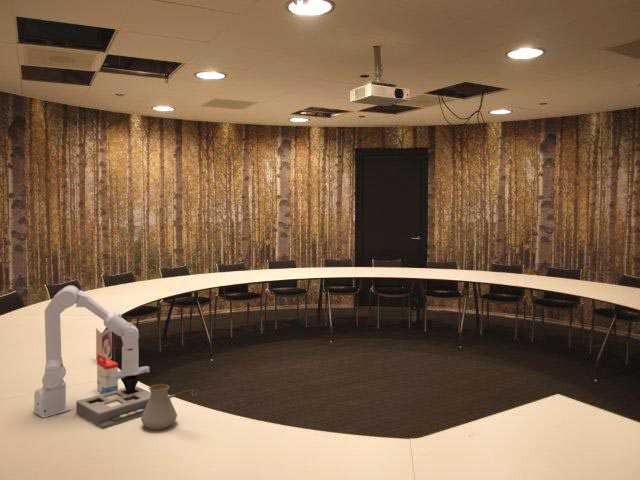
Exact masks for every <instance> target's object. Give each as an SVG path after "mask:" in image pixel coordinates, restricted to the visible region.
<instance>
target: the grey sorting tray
mask: <svg viewBox="0 0 640 480" xmlns="http://www.w3.org/2000/svg"><path fill="white" fill-rule="evenodd" d="M112 395H118V396H122V397H118V398H115V399H111V400H110V399H108V398H106V397H108V396H112ZM132 396H135V397H137V398H139V399H137V400H133V401H130V402H128V401H126V400H124V399H125V398H129V397H132ZM150 396H151V391H149V390H145V389H144V388H142V387H139V386H137V385H136V387H135V391H134V393H132V394H129V395H127V392H126V388H125V387H123V388H120V389H119V388H118V390H116V391H112V392H108V393H104V394H103V393H100V394H98V395H93V396H90V397H86V398H83V399H79V400H76V406H75V407H76V409H75V410H76V411H75V412H76V414H75V415H78V416H80V417H81V418H84V419H85V420H87V421H88V422H90V423H92V424H93V425H95V426H97V427H99V428H100V429H102V430H103V429H107V428H111V427H113V426H116V425H119V424H123V423H125V422H130V421H132V420H134V419H138V418H141V417H142V415H143V412H144V410H145V408H146V405H147V403H148V401H149V398H150ZM115 401H118V402H119V403H121V404H120V405H116V406H113V407H110V406H108V405H106V404H108V403H111V402H115ZM96 402H100V403H97V404H93V405H91V404H92V403H96ZM122 403H123V404H122Z"/></svg>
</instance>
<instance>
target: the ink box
mask: <svg viewBox="0 0 640 480" xmlns="http://www.w3.org/2000/svg"><path fill="white" fill-rule="evenodd" d="M100 358H102V359H103V360H101V359H100ZM96 361H97V362H96V376H97V377H96V378H97V379H96V382H97V383H96V388H97V389H96V390H97V391H98V392H100V394H104V393H108V392H112V391H116V390H119V379H117V380H115V381H111V380H110V375H111V374H115V373H117V372H119V369H118V368H119V367H118V365H119V364H118V362H115V361H113V360H111V359H110V360H109V359H107V358H106V357H104V356H102V355H99V354H97V360H96Z"/></svg>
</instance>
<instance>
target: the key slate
mask: <svg viewBox="0 0 640 480" xmlns="http://www.w3.org/2000/svg"><path fill="white" fill-rule="evenodd" d="M121 397H122V396H121ZM132 399H135V400H137V399H139V398H137V397H135V396H132V397H129V398H125V399H124V400H126V401H128V400H132Z"/></svg>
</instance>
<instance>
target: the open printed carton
mask: <svg viewBox="0 0 640 480" xmlns="http://www.w3.org/2000/svg"><path fill="white" fill-rule="evenodd" d="M112 339H113V332H112V331H111V330H110V329H108V328H107V329H106V330H104V331H102V332H101V331H100V330H99V329H98V328H97V327H96V329H95V343H96V344H95V354H96V355H95V356H96V357H95V358H96V361H97V354H99V355H102V356H104V357H106V358H107V359H109V360H111V359H113V358H112V357H113V352H112V351H113V342H112V341H113V340H112ZM100 359H101V360H103V359H102V358H100Z"/></svg>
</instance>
